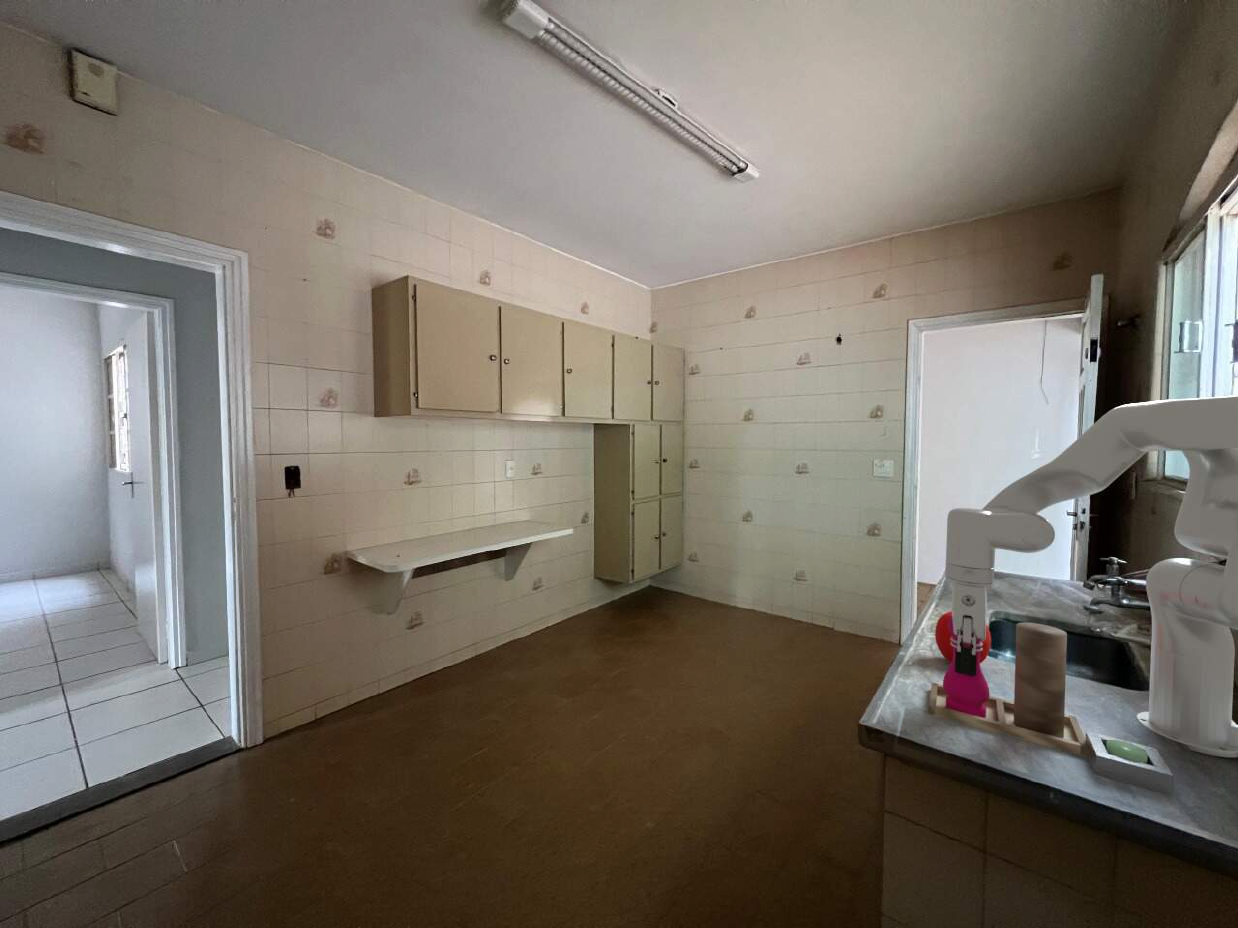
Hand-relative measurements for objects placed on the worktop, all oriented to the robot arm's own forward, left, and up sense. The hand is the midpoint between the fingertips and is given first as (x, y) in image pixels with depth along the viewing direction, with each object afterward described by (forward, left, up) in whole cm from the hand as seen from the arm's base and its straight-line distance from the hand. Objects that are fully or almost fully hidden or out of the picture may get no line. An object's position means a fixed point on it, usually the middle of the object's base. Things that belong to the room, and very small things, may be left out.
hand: (965, 666), depth 93 cm
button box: (-21, +7, -9) cm, 24 cm away
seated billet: (-11, 0, -8) cm, 14 cm away
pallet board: (-6, 0, -9) cm, 11 cm away
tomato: (0, -27, -10) cm, 29 cm away
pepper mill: (0, +1, -8) cm, 8 cm away
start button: (-21, +7, -9) cm, 23 cm away
